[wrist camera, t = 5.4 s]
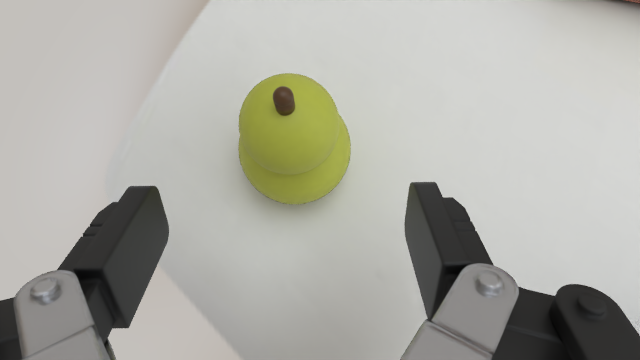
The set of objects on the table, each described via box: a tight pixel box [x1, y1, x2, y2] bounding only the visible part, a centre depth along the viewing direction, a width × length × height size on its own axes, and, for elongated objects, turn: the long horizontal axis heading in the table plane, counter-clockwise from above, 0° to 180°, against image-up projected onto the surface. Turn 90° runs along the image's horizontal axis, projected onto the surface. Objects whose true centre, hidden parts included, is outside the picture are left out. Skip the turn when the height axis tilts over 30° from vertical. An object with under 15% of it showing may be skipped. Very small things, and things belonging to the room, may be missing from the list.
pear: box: [239, 73, 350, 204], centre depth 18 cm, size 5×5×9 cm
